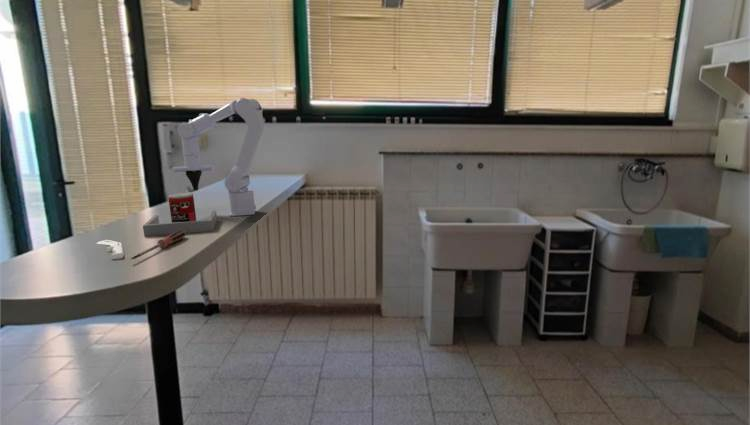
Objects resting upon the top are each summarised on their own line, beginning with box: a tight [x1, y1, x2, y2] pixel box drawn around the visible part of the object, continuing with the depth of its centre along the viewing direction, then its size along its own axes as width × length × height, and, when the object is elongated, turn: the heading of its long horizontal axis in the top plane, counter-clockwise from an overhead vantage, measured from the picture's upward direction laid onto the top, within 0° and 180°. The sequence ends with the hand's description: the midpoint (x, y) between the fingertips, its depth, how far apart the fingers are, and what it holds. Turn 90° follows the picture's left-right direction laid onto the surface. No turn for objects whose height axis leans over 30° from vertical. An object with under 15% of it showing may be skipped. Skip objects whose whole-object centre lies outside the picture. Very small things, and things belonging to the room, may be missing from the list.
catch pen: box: [142, 210, 218, 237], centre depth 139 cm, size 20×15×4 cm
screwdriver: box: [129, 230, 187, 260], centre depth 116 cm, size 25×3×3 cm, turn 175°
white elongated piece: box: [96, 239, 125, 260], centre depth 119 cm, size 30×2×8 cm
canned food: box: [167, 192, 197, 223], centre depth 142 cm, size 8×8×11 cm
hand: (196, 190), depth 159 cm, fingers closed
